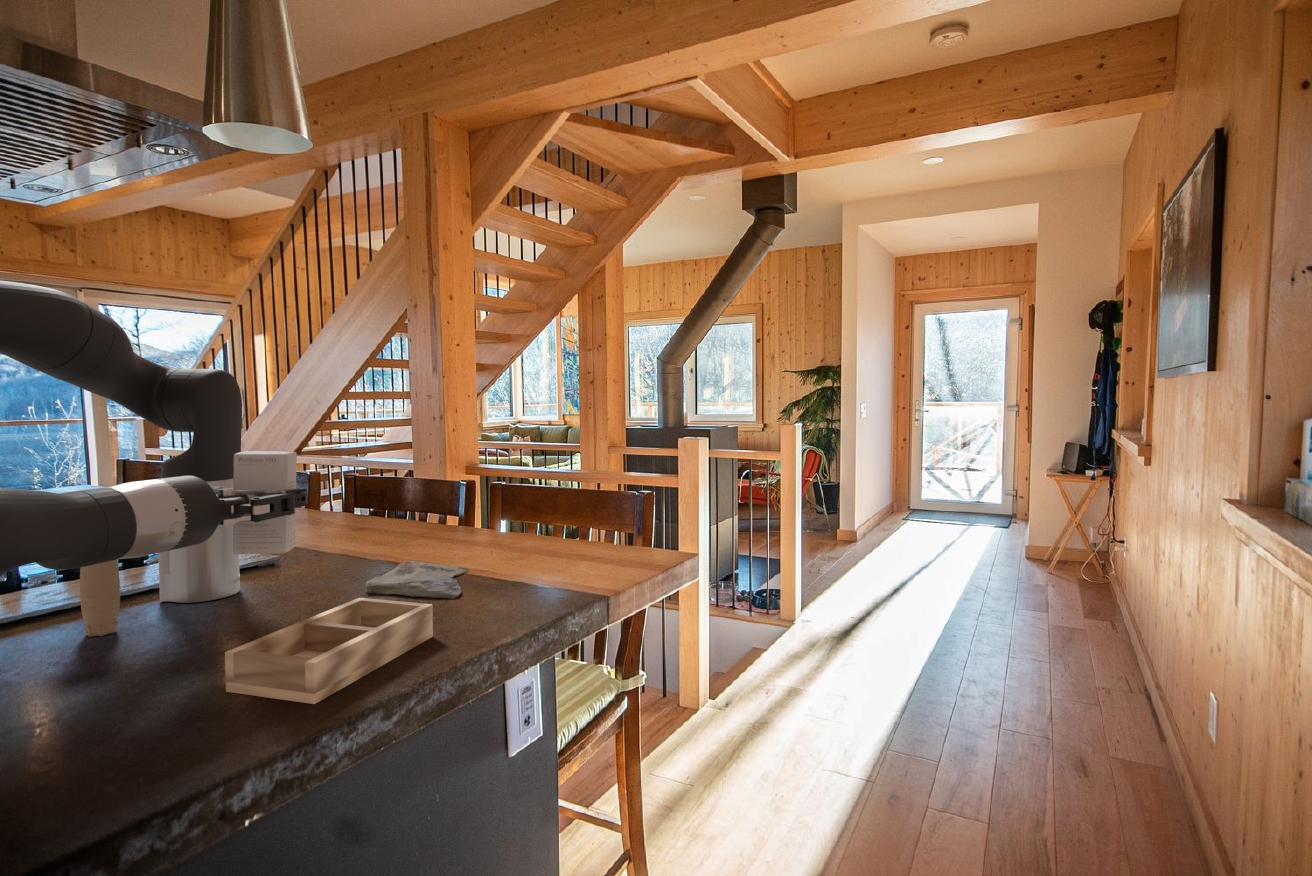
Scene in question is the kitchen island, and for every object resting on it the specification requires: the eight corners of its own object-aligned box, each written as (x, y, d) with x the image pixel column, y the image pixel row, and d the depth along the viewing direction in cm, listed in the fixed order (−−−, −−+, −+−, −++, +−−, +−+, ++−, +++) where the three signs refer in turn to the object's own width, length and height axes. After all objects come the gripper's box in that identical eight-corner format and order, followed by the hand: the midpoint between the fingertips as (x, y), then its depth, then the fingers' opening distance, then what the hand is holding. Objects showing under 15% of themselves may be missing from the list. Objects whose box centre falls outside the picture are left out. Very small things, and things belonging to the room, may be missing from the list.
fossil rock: (400, 572, 121) (400, 558, 121) (487, 573, 121) (487, 560, 120) (355, 601, 103) (355, 585, 103) (457, 602, 103) (457, 586, 103)
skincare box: (231, 556, 83) (229, 453, 82) (244, 547, 87) (242, 450, 87) (288, 554, 84) (287, 453, 84) (298, 546, 89) (297, 450, 88)
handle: (63, 643, 83) (58, 517, 82) (94, 626, 90) (89, 509, 89) (110, 640, 84) (105, 516, 83) (137, 623, 91) (133, 508, 90)
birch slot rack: (314, 704, 67) (313, 663, 67) (226, 691, 70) (224, 652, 70) (432, 636, 87) (432, 604, 86) (359, 628, 89) (359, 597, 89)
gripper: (209, 482, 70) (327, 467, 85) (98, 477, 73) (232, 463, 89) (211, 557, 70) (328, 528, 86) (101, 548, 74) (233, 521, 90)
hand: (279, 495), depth 88 cm, fingers closed on skincare box, 7 cm apart
